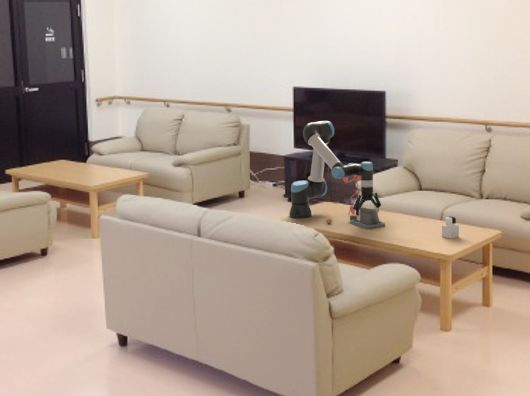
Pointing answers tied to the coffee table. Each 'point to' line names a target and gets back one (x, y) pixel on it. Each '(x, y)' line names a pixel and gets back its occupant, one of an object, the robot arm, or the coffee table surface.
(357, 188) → the figurine
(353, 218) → the walnut cube
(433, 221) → the coffee table surface
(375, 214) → the digital clock
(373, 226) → the tray
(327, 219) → the terracotta ball
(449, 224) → the medicine bottle
